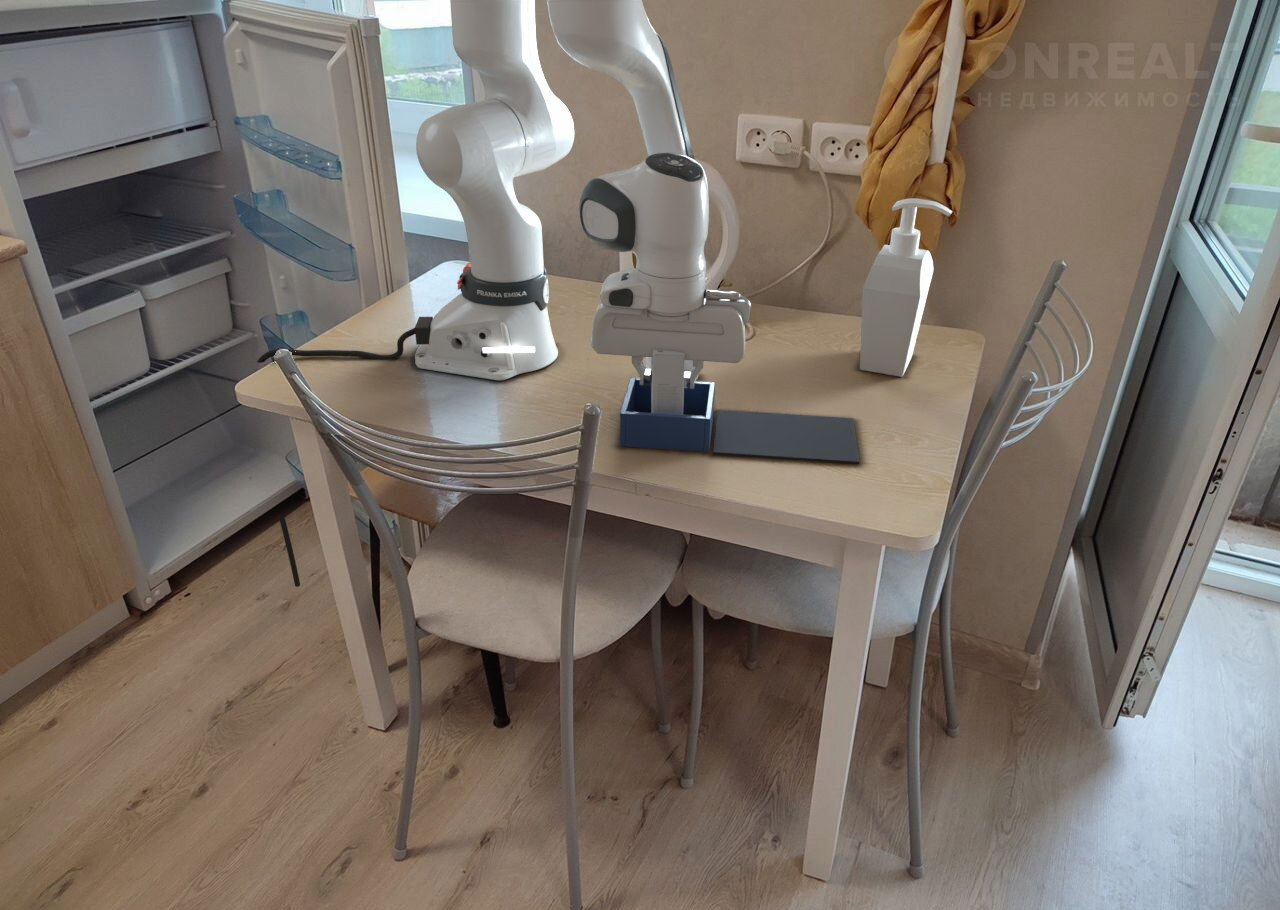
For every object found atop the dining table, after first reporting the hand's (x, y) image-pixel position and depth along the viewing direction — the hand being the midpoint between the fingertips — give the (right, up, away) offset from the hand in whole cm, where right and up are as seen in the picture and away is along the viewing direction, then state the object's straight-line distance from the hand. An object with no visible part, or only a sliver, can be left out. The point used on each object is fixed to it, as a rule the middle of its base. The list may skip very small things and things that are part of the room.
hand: (666, 385), depth 127 cm
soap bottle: (+36, +5, +22) cm, 43 cm away
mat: (+16, -7, +2) cm, 18 cm away
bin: (0, -6, +3) cm, 7 cm away
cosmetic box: (0, -5, +3) cm, 6 cm away
